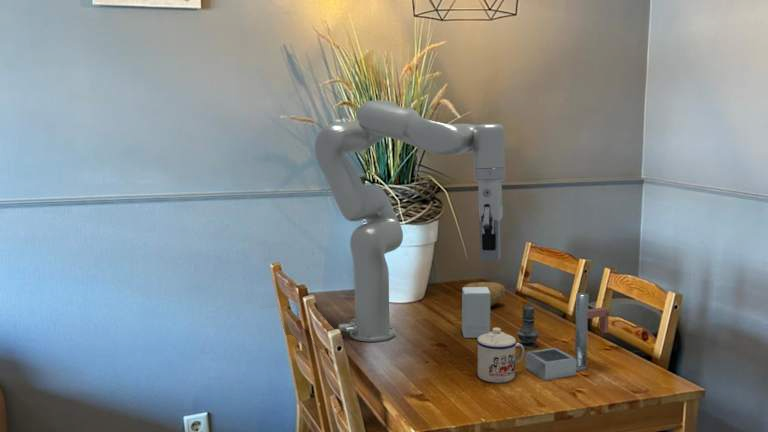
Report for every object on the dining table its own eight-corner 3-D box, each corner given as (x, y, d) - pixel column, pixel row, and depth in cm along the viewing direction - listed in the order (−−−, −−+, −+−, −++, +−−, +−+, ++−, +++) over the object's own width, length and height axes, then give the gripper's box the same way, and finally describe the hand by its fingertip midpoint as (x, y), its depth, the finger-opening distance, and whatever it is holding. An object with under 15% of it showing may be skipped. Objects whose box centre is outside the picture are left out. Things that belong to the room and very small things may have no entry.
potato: (511, 308, 221) (511, 284, 220) (469, 313, 218) (469, 287, 216) (497, 300, 231) (497, 276, 230) (457, 304, 227) (457, 280, 226)
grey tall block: (499, 261, 173) (499, 211, 171) (478, 260, 175) (477, 211, 173) (502, 256, 178) (501, 208, 176) (481, 256, 180) (480, 208, 178)
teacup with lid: (489, 386, 161) (489, 336, 159) (469, 372, 169) (469, 325, 167) (534, 378, 165) (535, 329, 164) (512, 365, 174) (513, 319, 172)
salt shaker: (539, 350, 184) (540, 305, 182) (516, 348, 185) (516, 304, 183) (538, 342, 190) (539, 299, 188) (516, 341, 191) (517, 298, 189)
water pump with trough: (544, 380, 164) (546, 304, 161) (525, 367, 172) (526, 295, 169) (615, 368, 171) (618, 295, 168) (593, 357, 178) (595, 287, 176)
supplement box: (490, 338, 194) (491, 293, 192) (463, 338, 194) (463, 293, 192) (487, 329, 201) (488, 286, 199) (461, 329, 202) (461, 286, 200)
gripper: (500, 177, 164) (501, 255, 167) (508, 171, 180) (508, 242, 183) (468, 178, 166) (470, 254, 169) (478, 172, 182) (479, 241, 185)
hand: (490, 247), depth 176 cm, fingers closed on grey tall block, 4 cm apart
